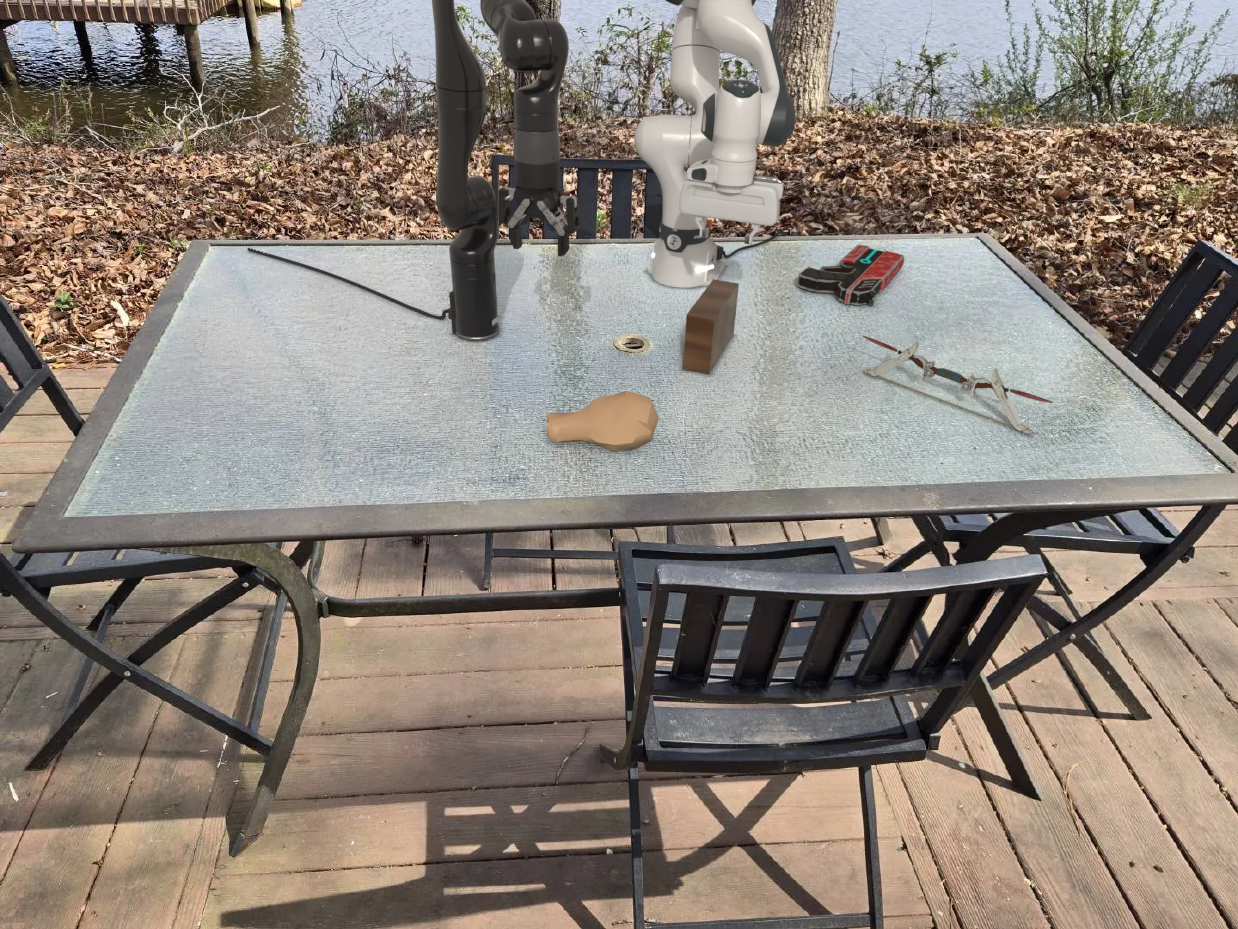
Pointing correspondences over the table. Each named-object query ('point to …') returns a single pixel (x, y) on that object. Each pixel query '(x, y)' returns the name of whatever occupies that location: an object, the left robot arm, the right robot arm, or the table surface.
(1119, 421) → the table surface
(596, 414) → the squash
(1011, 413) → the bow
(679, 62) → the right robot arm
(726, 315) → the box
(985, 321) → the table surface
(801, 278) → the gun
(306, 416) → the table surface
